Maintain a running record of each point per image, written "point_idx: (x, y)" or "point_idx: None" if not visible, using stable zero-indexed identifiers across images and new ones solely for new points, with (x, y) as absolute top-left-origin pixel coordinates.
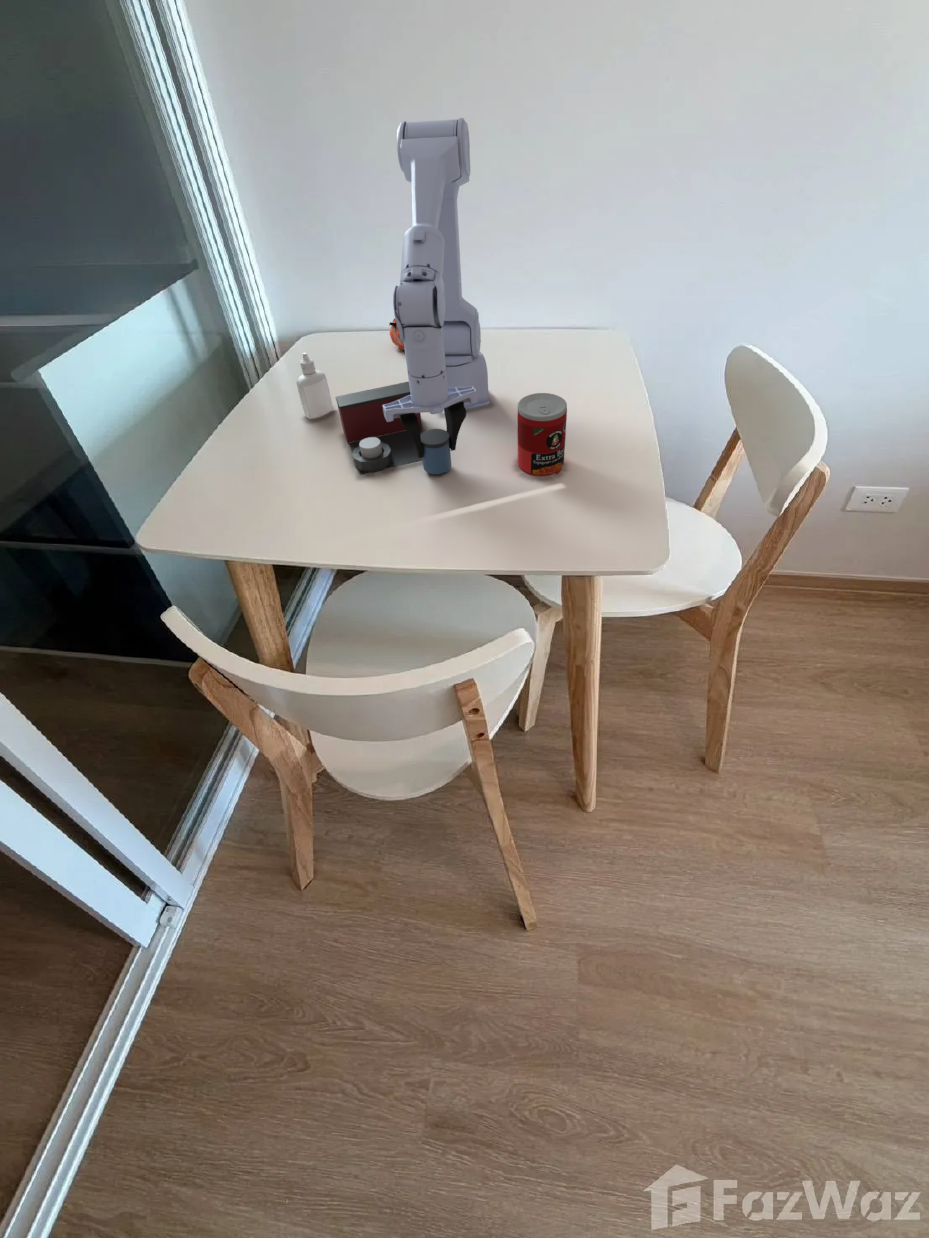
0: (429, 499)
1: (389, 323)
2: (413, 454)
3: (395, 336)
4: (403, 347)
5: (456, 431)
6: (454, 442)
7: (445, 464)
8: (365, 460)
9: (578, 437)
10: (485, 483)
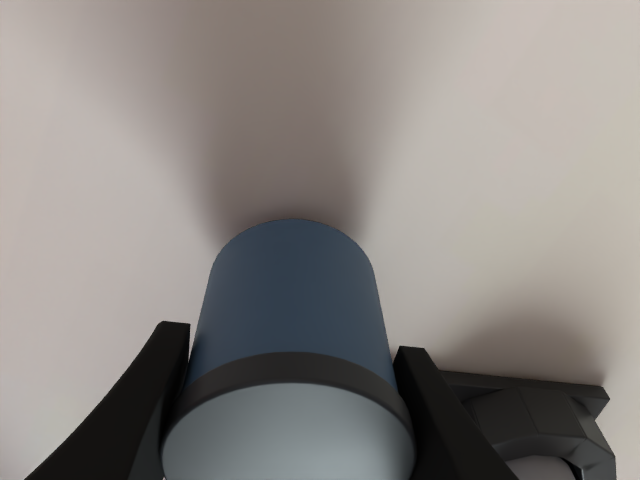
0: (470, 62)
1: None
2: None
3: None
4: None
5: (90, 448)
6: (149, 365)
7: (269, 251)
8: (593, 455)
9: None
10: (57, 17)
